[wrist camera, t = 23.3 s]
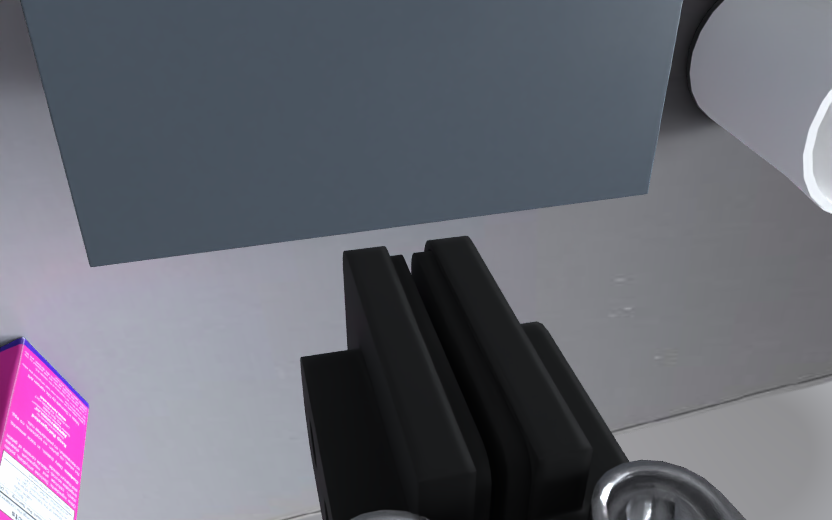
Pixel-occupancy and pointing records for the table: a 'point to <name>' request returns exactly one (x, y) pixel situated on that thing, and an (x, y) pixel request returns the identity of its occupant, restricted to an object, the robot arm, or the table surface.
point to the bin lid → (342, 113)
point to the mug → (771, 83)
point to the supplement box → (38, 437)
